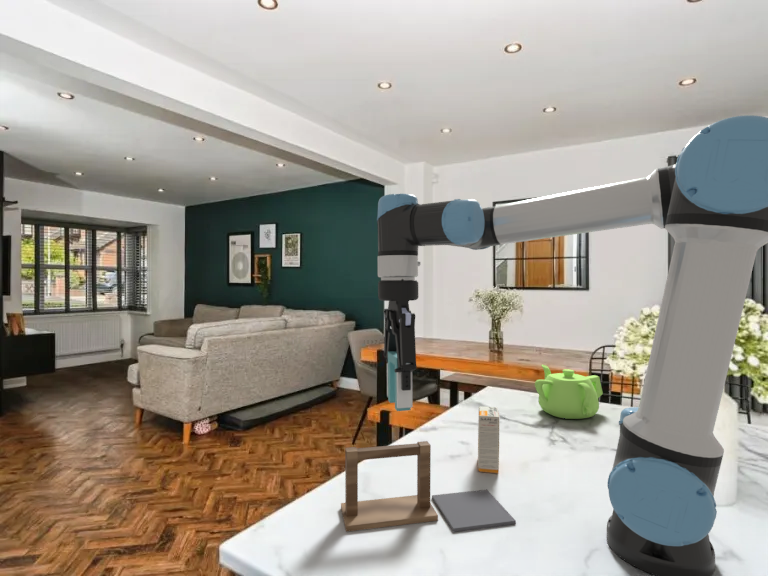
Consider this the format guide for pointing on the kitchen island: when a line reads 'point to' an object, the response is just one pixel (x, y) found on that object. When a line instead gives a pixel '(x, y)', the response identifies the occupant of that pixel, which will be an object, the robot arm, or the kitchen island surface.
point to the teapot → (569, 394)
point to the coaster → (472, 510)
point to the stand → (387, 509)
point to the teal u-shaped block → (393, 380)
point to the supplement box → (488, 440)
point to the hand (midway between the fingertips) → (399, 401)
